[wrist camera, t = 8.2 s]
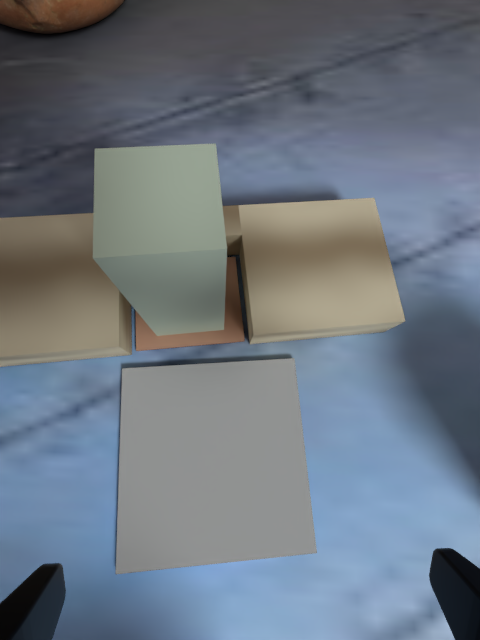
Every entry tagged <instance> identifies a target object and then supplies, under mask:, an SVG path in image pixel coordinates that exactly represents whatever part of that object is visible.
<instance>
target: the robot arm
mask: <svg viewBox="0 0 480 640" xmlns="http://www.w3.org/2000/svg"><path fill="white" fill-rule="evenodd" d="M429 577H430V583H431V586H432V588H433V591H434V593H435V595H436V597H437V600H438V602H439V604H440V606H441V609H442V611H443V613H444V615H445V618H446V620H447V622H448V624H449V627H450V629H451V631H452V633H453V636H454V638H455V640H480V569H479V568H478V567H477V566H475V565H474V564H473V563H471V562H470V561H469V560H467V559H466V558H465V557H463V556H462V555H460V554H459V553H458V552H456V551H455V550H453V549H450V548H439V549H435V550H434V551H433V556H432V561H431V567H430V573H429ZM65 593H66V589H65V581H64V574H63V567H62V565H61V564H59V563H52V564H43V565H42V566H40V567H39V568H38V569H37V570H35V571H34V572H33V573H32V574H31V575H30V576H29V577H28V578H27V579H26V580H25V581H24V582H23V583H22V584H21V585H19V586H18V587H17V588H16V589H15V590H14V591H13V592H12V593H11V594H10V595H9V596H8V597H7V598H6V599H4V600H3V601H2V602H1V603H0V640H52V638H53V635H54V632H55V628H56V625H57V622H58V619H59V616H60V613H61V610H62V607H63V604H64V600H65Z"/></svg>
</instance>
